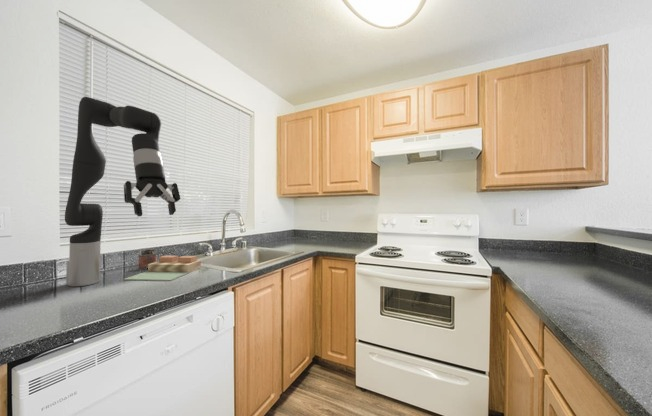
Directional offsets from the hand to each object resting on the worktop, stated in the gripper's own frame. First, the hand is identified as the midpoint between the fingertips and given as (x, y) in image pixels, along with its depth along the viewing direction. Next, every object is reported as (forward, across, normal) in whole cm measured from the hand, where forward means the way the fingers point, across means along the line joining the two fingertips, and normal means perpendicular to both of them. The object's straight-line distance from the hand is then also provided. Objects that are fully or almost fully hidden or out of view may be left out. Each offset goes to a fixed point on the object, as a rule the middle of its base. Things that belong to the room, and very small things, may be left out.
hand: (156, 215), depth 76 cm
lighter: (+9, -17, -73) cm, 75 cm away
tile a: (+7, -23, -62) cm, 66 cm away
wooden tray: (+13, -24, -58) cm, 65 cm away
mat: (+15, -14, -51) cm, 55 cm away
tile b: (+10, -29, -54) cm, 62 cm away
